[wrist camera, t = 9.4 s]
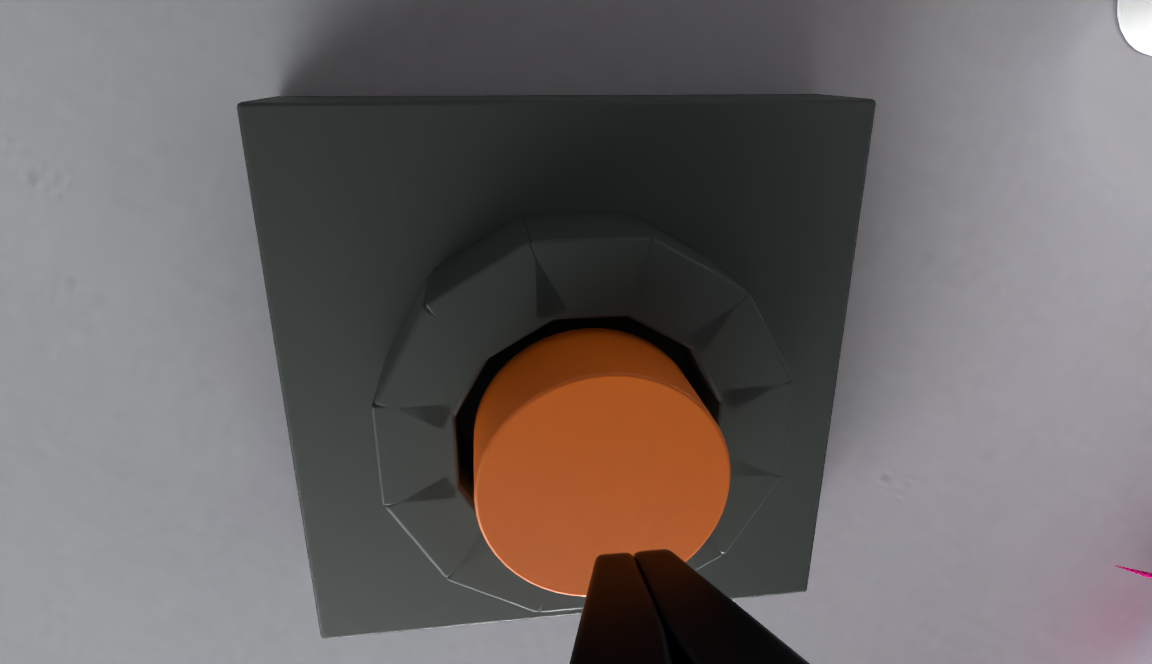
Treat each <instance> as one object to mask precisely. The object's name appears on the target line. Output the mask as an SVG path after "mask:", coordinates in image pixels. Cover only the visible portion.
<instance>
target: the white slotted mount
mask: <svg viewBox="0 0 1152 664" xmlns="http://www.w3.org/2000/svg"><path fill="white" fill-rule="evenodd" d="M1117 16H1118V21H1119V25H1120V30H1121V32H1122V33H1123V35H1124V37H1125V39H1126V41H1127V42H1128V43H1129V44H1130V45H1131V46H1132V47H1133V48H1134V49H1136V50H1137V51H1139V52H1141V53H1144V54H1146V55H1150V56H1152V0H1118V7H1117Z"/></svg>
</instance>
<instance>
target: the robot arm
mask: <svg viewBox="0 0 1152 664" xmlns="http://www.w3.org/2000/svg"><path fill="white" fill-rule="evenodd" d="M570 664H809V663H808V662H807V661H806V660H805V659H803V658H802V657H801V656H800V655H798V654H797V653H796V652H795V651H793V650H792V649H791V648H790V647H789V646H787V645H786V644H785V643H784V642H782V641H781V640H780V639H779V638H777V637H776V636H775V635H774V634H773V633H771V632H770V631H769V630H768V629H766V628H765V627H764V626H763V625H762V624H760V623H759V622H758V621H757V620H755V619H754V618H753V617H752V616H750V615H749V614H748V613H747V612H746V611H744V610H743V609H742V608H741V607H739V606H738V605H737V604H736V603H735V602H733V601H732V600H731V599H730V598H728V597H727V596H726V595H725V594H723V593H722V592H721V591H720V590H719V589H717V588H716V587H715V586H714V585H712V584H711V583H710V582H709V581H708V580H706V579H705V578H704V577H703V576H701V575H700V574H699V573H698V572H696V571H695V570H694V569H693V568H692V567H690V566H689V565H688V564H687V563H685V562H684V561H683V560H682V559H681V558H679V557H678V556H677V555H676V554H674V553H673V552H672V551H670V550H667V549H659V550H648V551H639V552H636V553H635V554H634V556H633V555H631V554H630V553H626V552H625V553H613V554H602V555H599V556H598V557H597V558H596V560H595V563H594V567H593V571H592V575H591V579H590V583H589V587H588V592H587V596H586V600H585V604H584V608H583V612H582V616H581V620H580V624H579V628H578V632H577V636H576V640H575V644H574V648H573V652H572V656H571V660H570Z"/></svg>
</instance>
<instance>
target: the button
mask: <svg viewBox="0 0 1152 664" xmlns="http://www.w3.org/2000/svg"><path fill="white" fill-rule="evenodd" d="M729 485H730V460H729V453H728V449H727V446H726V442H725V439H724V437H723V435H722V432H721V430H720V428H719V426H718V424H717V423H716V422H715V420H714V419H713V417H712V416H711V414H710V413H709V411H708V410H707V408H706V407H705V405H704V404H703V402H702V401H701V399H700V398H699V397H698V395H697V394H696V392H695V391H694V389H693V388H692V386H691V385H690V383H689V382H688V380H687V379H686V377H685V376H684V374H683V373H682V372H681V370H680V369H679V367H678V366H677V365H676V364H675V362H674V361H673V360H672V359H671V358H670V357H669V356H668V355H667V354H665V353H664V352H663V351H662V350H661V349H659V348H658V347H657V346H655V345H653V344H652V343H650V342H648V341H647V340H645V339H642V338H640V337H638V336H635V335H633V334H630V333H626V332H622V331H619V330H612V329H605V328H583V329H574V330H569V331H565V332H561V333H557V334H554V335H551V336H549V337H546V338H543V339H541V340H539V341H537V342H535V343H533V344H531V345H529V346H528V347H526V348H525V349H523V350H522V351H520V352H519V353H517V354H516V355H515V356H514V357H513V358H511V359H510V360H509V361H508V362H507V363H506V364H505V365H504V366H503V367H502V368H501V369H500V370H499V372H498V373H497V374H496V375H495V376H494V378H493V379H492V381H491V382H490V384H489V385H488V387H487V388H486V390H485V392H484V395H483V397H482V399H481V401H480V404H479V407H478V410H477V413H476V418H475V424H474V505H475V512H476V517H477V520H478V524H479V527H480V530H481V532H482V534H483V536H484V538H485V540H486V542H487V544H488V545H489V547H490V548H491V550H492V551H493V552H494V554H495V555H496V556H497V557H498V558H499V559H500V560H501V562H502V563H503V564H504V565H505V566H506V567H508V568H509V569H510V570H511V571H512V572H514V573H515V574H516V575H518V576H519V577H521V578H523V579H524V580H526V581H528V582H529V583H531V584H534V585H536V586H538V587H540V588H543V589H546V590H549V591H552V592H556V593H560V594H565V595H571V596H583V597H586V596H587V592H588V587H589V583H590V579H591V575H592V571H593V567H594V563H595V560H596V558H597V557H598V556H599V555H602V554H613V553H625V552H626V553H630V554H631V555H633V556H634V554H635V553H636V552H639V551H648V550H659V549H667V550H670V551H672V552H673V553H674V554H676V555H677V556H678V557H679V558H681V559H682V560H683V561H684V562H686V561H688V560H689V559H690V558H691V557H692V556H693V555H694V554H695V553H696V552H697V551H698V550H699V549H700V548H701V547H702V545H703V544H704V543H705V542H706V540H707V539H708V538H709V536H710V535H711V533H712V532H713V530H714V528H715V527H716V525H717V523H718V521H719V519H720V517H721V515H722V513H723V510H724V507H725V504H726V501H727V497H728V492H729Z"/></svg>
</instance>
